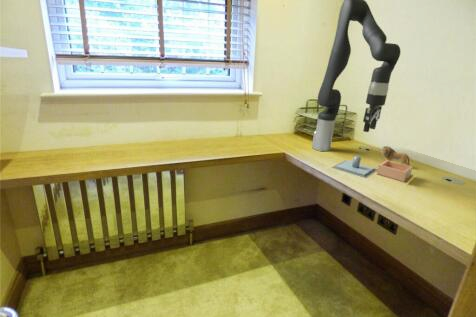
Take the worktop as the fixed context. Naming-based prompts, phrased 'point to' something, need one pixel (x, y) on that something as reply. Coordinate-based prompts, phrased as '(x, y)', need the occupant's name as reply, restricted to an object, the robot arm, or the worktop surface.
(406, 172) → the dish
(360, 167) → the lid
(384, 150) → the lion figurine
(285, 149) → the worktop surface
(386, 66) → the robot arm
